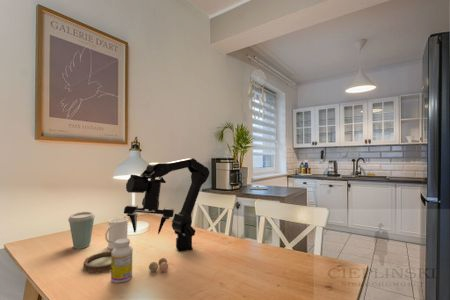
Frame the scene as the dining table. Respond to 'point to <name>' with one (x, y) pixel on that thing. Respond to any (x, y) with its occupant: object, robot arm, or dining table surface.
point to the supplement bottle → (121, 261)
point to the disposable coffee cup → (81, 228)
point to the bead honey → (162, 261)
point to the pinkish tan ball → (163, 267)
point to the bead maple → (153, 266)
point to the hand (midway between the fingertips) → (146, 233)
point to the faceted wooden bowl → (98, 263)
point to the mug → (116, 231)
